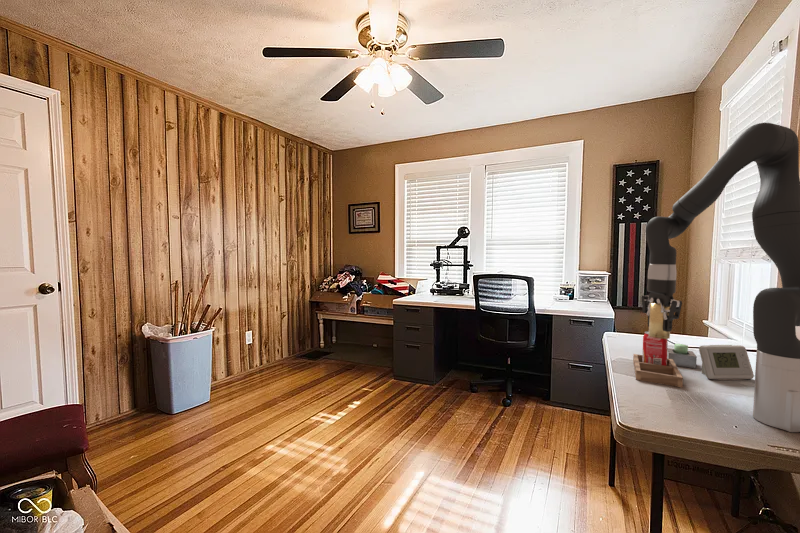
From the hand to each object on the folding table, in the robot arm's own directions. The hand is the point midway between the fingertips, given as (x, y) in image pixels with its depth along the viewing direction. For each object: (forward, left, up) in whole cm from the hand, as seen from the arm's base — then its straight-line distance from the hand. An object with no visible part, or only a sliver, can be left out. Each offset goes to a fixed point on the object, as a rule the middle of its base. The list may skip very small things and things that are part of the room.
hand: (659, 328), depth 116 cm
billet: (0, 0, -3) cm, 3 cm away
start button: (+14, -21, -12) cm, 29 cm away
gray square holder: (+14, -21, -16) cm, 31 cm away
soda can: (+9, -6, -17) cm, 20 cm away
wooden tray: (+4, -3, -16) cm, 17 cm away
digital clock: (0, -24, -17) cm, 29 cm away
